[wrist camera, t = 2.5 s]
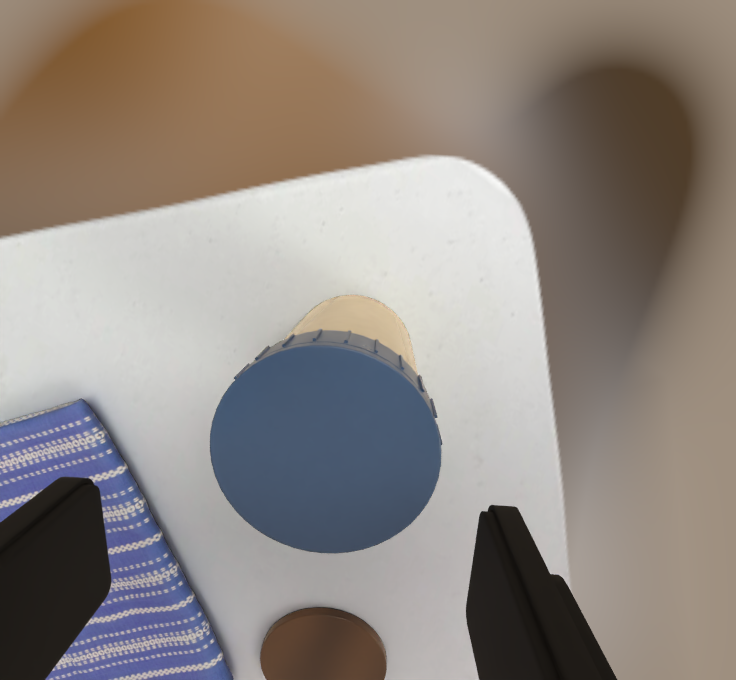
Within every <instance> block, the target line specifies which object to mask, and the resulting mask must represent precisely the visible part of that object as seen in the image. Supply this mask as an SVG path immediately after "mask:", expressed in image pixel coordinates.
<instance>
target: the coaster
mask: <svg viewBox="0 0 736 680" xmlns="http://www.w3.org/2000/svg"><path fill="white" fill-rule="evenodd" d="M260 661H261V668H262V671H263V674H264V676H265V678H266V680H384V678H385V675H386V651H385V648H384V645H383V643H382V641H381V639H380V637H379V636H378V634H377V633H376V632H375V631H374V630H373V629H372V628H371V627H370V626H369V625H368V624H367V623H366V622H364V621H363V620H361V619H360V618H358V617H356V616H354V615H352V614H350V613H347V612H344V611H340V610H336V609H330V608H308V609H303V610H299V611H296V612H293V613H290V614H288V615H286V616H285V617H283V618H281V619H280V620H279V621H277V622H276V623H275V624H274V625H273V626H272V627H271V629H270V630H269V631H268V633H267V635H266V637H265V639H264V642H263V645H262V649H261V655H260Z"/></svg>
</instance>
